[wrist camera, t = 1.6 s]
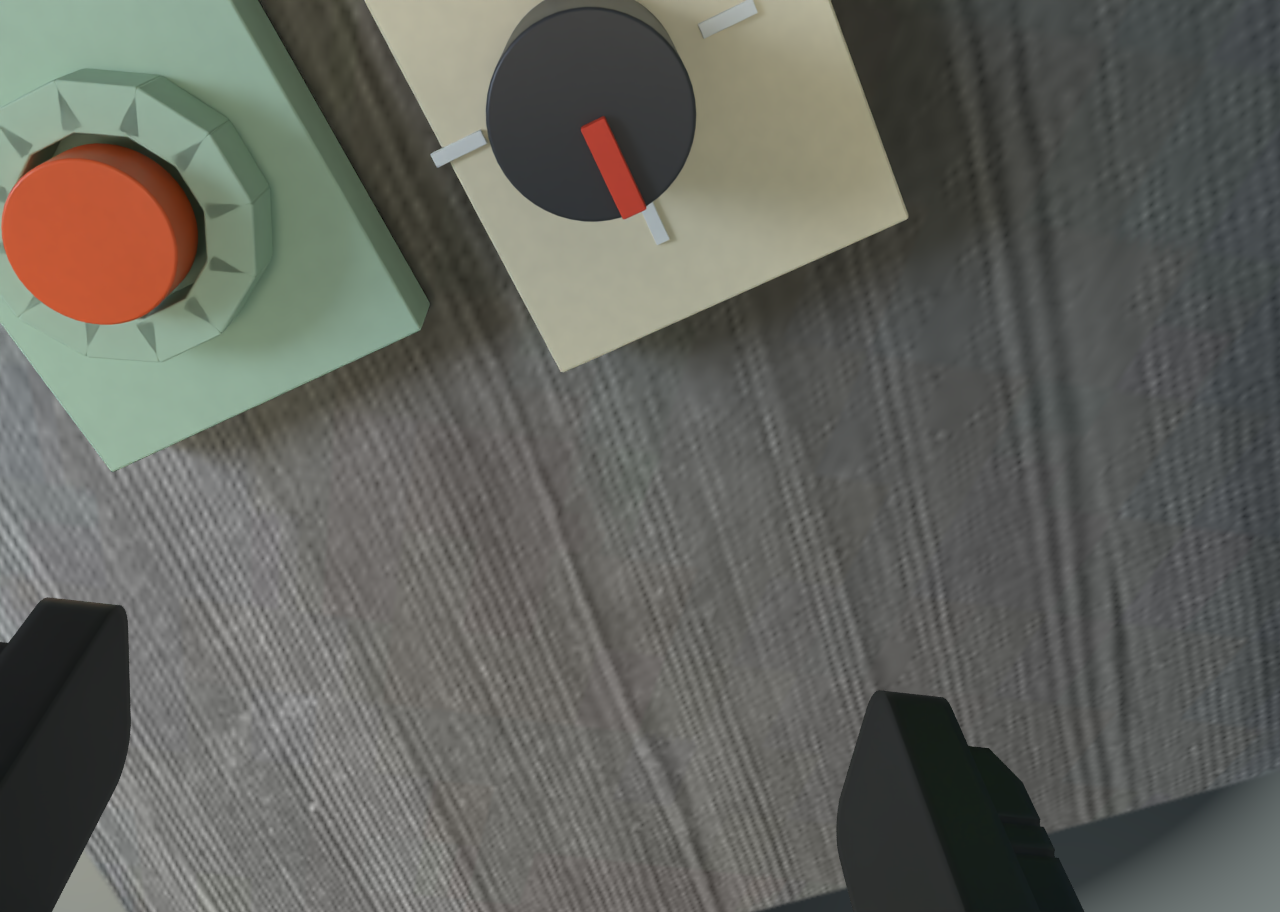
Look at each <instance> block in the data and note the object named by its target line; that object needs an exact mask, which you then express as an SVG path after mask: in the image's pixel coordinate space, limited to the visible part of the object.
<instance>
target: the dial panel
mask: <svg viewBox="0 0 1280 912" xmlns="http://www.w3.org/2000/svg"><path fill="white" fill-rule="evenodd" d="M364 1H365V3H366V5H367V7H368V9H369V10H370V12H371V14H372V16H373V18H374V20H375V22H376V24H377V26H378V27H379V29H380V31H381V33H382V35H383V37H384V39H385V41H386V43H387V44H388V46H389V48H390V50H391V52H392V54H393V56H394V58H395V60H396V61H397V63H398V65H399V67H400V69H401V71H402V73H403V75H404V77H405V78H406V80H407V82H408V84H409V86H410V88H411V90H412V92H413V94H414V95H415V97H416V99H417V101H418V103H419V105H420V107H421V109H422V111H423V112H424V114H425V116H426V118H427V120H428V122H429V124H430V126H431V128H432V129H433V131H434V133H435V135H436V137H437V139H438V141H439V143H440V145H441V146H442V148H441V149H439V150H437V151H435V152H433V153H431V157H432V159H433V161H434V163H435V165H436V166H437V168H438V167H440V166H442V165H444V164H446V163H448V162H450V163H451V165H452V167H453V169H454V171H455V173H456V175H457V177H458V179H459V181H460V182H461V184H462V186H463V188H464V190H465V192H466V194H467V196H468V198H469V199H470V201H471V203H472V205H473V207H474V209H475V211H476V213H477V215H478V216H479V218H480V220H481V222H482V224H483V226H484V228H485V230H486V232H487V233H488V235H489V237H490V239H491V241H492V243H493V245H494V247H495V249H496V250H497V252H498V254H499V256H500V258H501V260H502V262H503V264H504V266H505V267H506V269H507V271H508V273H509V275H510V277H511V279H512V281H513V283H514V284H515V286H516V288H517V290H518V292H519V294H520V296H521V298H522V300H523V301H524V303H525V305H526V307H527V309H528V311H529V313H530V315H531V317H532V318H533V320H534V322H535V324H536V326H537V328H538V330H539V332H540V334H541V335H542V337H543V339H544V341H545V343H546V345H547V347H548V349H549V351H550V352H551V354H552V356H553V358H554V360H555V362H556V364H557V366H558V368H559V369H560V371H561V372H566V371H568V370H570V369H573V368H575V367H577V366H579V365H582V364H584V363H586V362H588V361H591V360H593V359H595V358H597V357H600V356H602V355H604V354H606V353H608V352H611V351H613V350H615V349H617V348H620V347H622V346H624V345H626V344H629V343H631V342H633V341H635V340H638V339H640V338H642V337H644V336H647V335H649V334H651V333H653V332H656V331H658V330H660V329H662V328H665V327H667V326H669V325H671V324H674V323H676V322H678V321H680V320H683V319H685V318H687V317H689V316H691V315H694V314H696V313H698V312H700V311H703V310H705V309H707V308H709V307H712V306H714V305H716V304H718V303H721V302H723V301H725V300H727V299H730V298H732V297H734V296H736V295H739V294H741V293H743V292H745V291H748V290H750V289H752V288H754V287H757V286H759V285H761V284H763V283H766V282H768V281H770V280H772V279H774V278H777V277H779V276H781V275H783V274H786V273H788V272H790V271H792V270H795V269H797V268H799V267H801V266H804V265H806V264H808V263H810V262H813V261H815V260H817V259H819V258H822V257H824V256H826V255H828V254H831V253H833V252H835V251H837V250H840V249H842V248H844V247H846V246H849V245H851V244H853V243H855V242H857V241H860V240H862V239H864V238H866V237H869V236H871V235H873V234H875V233H878V232H880V231H882V230H884V229H887V228H889V227H891V226H893V225H896V224H898V223H900V222H902V221H905V220H906V219H908V213H907V210H906V207H905V204H904V202H903V199H902V196H901V193H900V191H899V188H898V185H897V182H896V179H895V177H894V174H893V171H892V168H891V166H890V163H889V160H888V157H887V155H886V152H885V149H884V146H883V144H882V141H881V138H880V135H879V133H878V130H877V127H876V124H875V121H874V119H873V116H872V113H871V110H870V108H869V105H868V102H867V99H866V97H865V94H864V91H863V88H862V86H861V83H860V80H859V77H858V75H857V72H856V69H855V66H854V63H853V61H852V58H851V55H850V52H849V50H848V47H847V44H846V41H845V39H844V36H843V33H842V30H841V28H840V25H839V22H838V19H837V17H836V14H835V11H834V8H833V5H832V3H831V0H635V1H637V2H638V3H640V4H642V5H643V6H644V7H646V8H647V9H648V10H649V11H650V12H651V13H652V14H653V15H654V16H655V17H656V18H657V19H658V20H659V21H660V22H661V24H662V25H663V27H664V28H665V29H666V31H667V32H668V34H669V36H670V38H671V40H672V42H673V44H674V46H675V48H676V50H677V52H678V54H679V56H680V58H681V60H682V62H683V64H684V66H685V68H686V70H687V72H688V75H689V77H690V80H691V83H692V86H693V91H694V96H695V102H696V129H695V135H694V140H693V144H692V147H691V150H690V153H689V156H688V158H687V160H686V162H685V165H684V167H683V168H682V170H681V172H680V173H679V175H678V176H677V178H676V179H675V181H674V182H673V183H672V184H671V185H670V187H669V188H668V189H667V190H666V191H665V192H664V193H663V194H662V195H661V196H660V197H659V198H657V199H656V200H655V201H653V202H652V203H650V204H649V205H648V206H646V210H644V211H642V212H640V213H638V214H636V215H633V216H631V217H629V218H627V219H622V217H621V218H617V219H613V220H608V221H599V222H584V221H577V220H570V219H567V218H563V217H560V216H557V215H554V214H552V213H550V212H547V211H545V210H543V209H542V208H540V207H538V206H536V205H535V204H533V203H532V202H531V201H529V200H528V199H527V198H525V197H524V196H523V195H522V194H521V193H520V192H519V191H518V190H517V189H516V188H515V187H514V186H513V185H512V184H511V182H510V181H509V180H508V179H507V177H506V176H505V175H504V173H503V171H502V170H501V168H500V166H499V165H498V163H497V160H496V158H495V156H494V153H493V151H492V148H491V145H490V141H489V138H488V132H487V126H486V101H487V93H488V89H489V85H490V81H491V78H492V75H493V73H494V70H495V67H496V65H497V63H498V61H499V59H500V57H501V55H502V53H503V50H504V48H505V46H506V44H507V42H508V40H509V38H510V36H511V34H512V32H513V31H514V29H515V28H516V26H517V25H518V24H519V22H520V21H521V19H522V18H523V17H524V16H525V15H526V14H527V13H528V12H529V11H530V10H531V9H533V8H534V7H535V6H537V5H538V4H539V3H541V2H542V1H544V0H364Z"/></svg>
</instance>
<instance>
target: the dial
mask: <svg viewBox="0 0 1280 912" xmlns="http://www.w3.org/2000/svg"><path fill="white" fill-rule="evenodd" d="M486 126H487V132H488V138H489V141H490V145H491V148H492V151H493V153H494V156H495V158H496V160H497V163H498V165H499V166H500V168H501V170H502V171H503V173H504V175H505V176H506V177H507V179H508V180H509V181H510V182H511V184H512V185H513V186H514V187H515V188H516V189H517V190H518V191H519V192H520V193H521V194H522V195H523V196H524V197H525V198H527V199H528V200H529V201H531V202H532V203H533V204H535V205H536V206H538V207H540V208H542V209H543V210H545V211H547V212H550V213H552V214H554V215H557V216H560V217H563V218H567V219H570V220H577V221H584V222H599V221H608V220H613V219H617V218H621V217H622V219H627V218H629V217H631V216H633V215H636V214H638V213H640V212H642V211H644V210H646V206H648V205H649V204H650V203H652V202H653V201H655V200H656V199H657V198H659V197H660V196H661V195H662V194H663V193H664V192H665V191H666V190H667V189H668V188H669V187H670V185H671V184H672V183H673V182H674V181H675V179H676V178H677V176H678V175H679V173H680V172H681V170H682V168H683V167H684V165H685V162H686V160H687V158H688V156H689V153H690V150H691V147H692V144H693V140H694V135H695V129H696V102H695V96H694V91H693V86H692V83H691V80H690V77H689V75H688V72H687V70H686V68H685V66H684V64H683V62H682V60H681V58H680V56H679V54H678V52H677V50H676V48H675V46H674V44H673V42H672V40H671V38H670V36H669V34H668V32H667V31H666V29H665V28H664V27H663V25H662V24H661V22H660V21H659V20H658V19H657V18H656V17H655V16H654V15H653V14H652V13H651V12H650V11H649V10H648V9H647V8H646V7H644V6H643V5H642V4H640V3H638V2H637V1H635V0H544V1H542V2H541V3H539V4H538V5H537V6H535V7H534V8H533V9H531V10H530V11H529V12H528V13H527V14H526V15H525V16H524V17H523V18H522V19H521V21H520V22H519V24H518V25H517V26H516V28H515V29H514V31H513V32H512V34H511V36H510V38H509V40H508V42H507V44H506V46H505V48H504V50H503V53H502V55H501V57H500V59H499V61H498V63H497V65H496V67H495V70H494V73H493V75H492V78H491V81H490V85H489V89H488V93H487V101H486Z"/></svg>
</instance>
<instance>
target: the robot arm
mask: <svg viewBox="0 0 1280 912" xmlns="http://www.w3.org/2000/svg"><path fill="white" fill-rule="evenodd" d="M130 728H131V715H130V680H129V645H128V620H127V615H126V612H125V609H124V608H123V607H122V606H121V605H112V604H103V603H94V602H84V601H75V600H66V599H57V598H44V599H43V600H41V601H40V602H39V603H38V604H37V606H36V607H35V608H34V610H33V611H32V612H31V614H30V615H29V616H28V618H27V619H26V620H25V622H24V623H23V624H22V626H21V627H20V628H19V630H18V631H17V632H16V634H15V635H14V636H13V638H12V639H11V640H10V642H9V643H3V642H0V912H52V910H53V908H54V907H55V904H56V903H57V901H58V899H59V897H60V895H61V893H62V891H63V889H64V887H65V885H66V883H67V881H68V879H69V877H70V875H71V873H72V872H73V869H74V868H75V866H76V864H77V862H78V860H79V858H80V856H81V854H82V852H83V850H84V848H85V846H86V844H87V842H88V840H89V838H90V837H91V835H92V833H93V831H94V829H95V827H96V825H97V823H98V821H99V819H100V817H101V815H102V813H103V811H104V809H105V807H106V805H107V803H108V802H109V800H110V798H111V796H112V794H113V792H114V790H115V788H116V786H117V784H118V781H119V779H120V776H121V773H122V770H123V767H124V764H125V760H126V756H127V751H128V745H129V739H130ZM837 847H838V853H839V858H840V862H841V866H842V870H843V874H844V878H845V882H846V885H847V889H848V893H849V897H850V901H851V905H852V909H853V912H1084V910H1083V908H1082V906H1081V904H1080V902H1079V900H1078V898H1077V896H1076V894H1075V891H1074V889H1073V887H1072V885H1071V883H1070V881H1069V879H1068V877H1067V875H1066V873H1065V870H1064V868H1063V866H1062V864H1061V862H1060V860H1059V858H1055V856H1054V851H1055V850H1054V848H1053V845H1052V843H1051V841H1050V839H1049V837H1048V835H1047V833H1046V831H1045V829H1044V827H1040V818H1039V816H1038V814H1037V812H1036V810H1035V808H1034V806H1033V804H1032V801H1031V799H1030V797H1029V795H1028V793H1027V791H1026V789H1025V787H1024V785H1023V783H1022V782H1021V781H1020V780H1019V778H1018V777H1017V776H1016V775H1015V774H1014V773H1013V772H1012V771H1011V770H1010V769H1009V768H1008V767H1007V766H1006V765H1005V764H1004V763H1003V762H1002V761H1001V760H1000V759H999V758H998V757H997V756H996V755H995V754H994V753H993V752H992V751H991V750H990V749H989V748H981V747H972V746H968V745H967V742H966V740H965V738H964V735H963V733H962V731H961V728H960V726H959V724H958V722H957V719H956V717H955V715H954V712H953V710H952V708H951V706H950V704H949V702H948V701H947V700H946V699H945V698H943V697H935V696H926V695H916V694H907V693H898V692H889V691H880V690H879V691H876V692H875V693H874V694H873V696H872V697H871V699H870V701H869V703H868V706H867V709H866V713H865V716H864V719H863V723H862V726H861V729H860V733H859V736H858V739H857V743H856V746H855V749H854V752H853V756H852V759H851V762H850V766H849V769H848V772H847V776H846V779H845V782H844V786H843V789H842V792H841V796H840V800H839V805H838V813H837Z"/></svg>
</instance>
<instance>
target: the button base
mask: <svg viewBox="0 0 1280 912" xmlns="http://www.w3.org/2000/svg"><path fill="white" fill-rule="evenodd" d="M94 143H100V144H112V145H119V146H122V147H126V148H129V149H132V150H134V151H137V152H139V153H141V154H143V155H145V156H147V157H149V158H150V159H152V160H153V161H155V162H156V163H158V164H159V165H160V166H162V167H163V168H164V169H165V170H166V171H167V172H168V173H169V174H170V175H171V176H172V177H173V178H174V179H175V180H176V181H177V182H178V184H179V185H180V187H181V188H182V189H183V191H184V192H185V194H186V196H187V198H188V199H189V201H190V204H191V206H192V209H193V211H194V214H195V218H196V222H197V229H198V246H197V253H196V256H195V260H194V263H193V265H192V267H191V269H190V271H189V272H188V274H187V275H186V277H185V278H184V280H183V281H182V282H181V283H180V284H179V285H178V286H177V287H176V288H175V289H174V290H173V291H172V292H171V293H170V294H169V295H168V296H167V297H166V298H165V299H164V300H163V301H162V302H161V303H160V304H159V305H158V306H157V307H156V308H155V309H153V310H152V311H151V312H149V313H148V314H146V315H144V316H142V317H140V318H138V319H135V320H133V321H130V322H126V323H121V324H113V325H99V324H91V323H85V322H81V321H77V320H74V319H72V318H69V317H66V316H64V315H62V314H60V313H58V312H56V311H54V310H53V309H51V308H49V307H48V306H46V305H45V304H43V303H42V302H41V301H40V300H38V299H37V298H36V297H35V296H34V295H33V294H32V293H31V292H30V291H29V290H28V289H27V288H26V287H25V286H24V284H23V283H22V282H21V281H20V280H19V278H18V276H17V275H16V273H15V272H14V270H13V268H12V266H11V264H10V262H9V260H8V258H7V255H6V252H5V249H4V245H3V240H2V230H1V222H2V213H3V209H4V204H5V202H6V199H7V197H8V195H9V193H10V191H11V190H12V188H13V186H14V185H15V184H16V183H17V181H18V180H19V179H20V178H21V177H22V176H23V175H25V174H26V173H27V172H28V171H30V170H31V169H33V168H35V167H36V166H38V165H40V164H42V163H44V162H45V161H47V160H49V159H51V158H53V157H55V156H57V155H59V154H60V153H62V152H64V151H66V150H69V149H71V148H74V147H77V146H81V145H86V144H94ZM429 306H430V303H429V301H428V299H427V297H426V296H425V294H424V292H423V290H422V288H421V287H420V285H419V283H418V281H417V280H416V278H415V276H414V274H413V273H412V271H411V269H410V267H409V266H408V264H407V262H406V260H405V259H404V257H403V255H402V253H401V251H400V250H399V248H398V246H397V244H396V243H395V241H394V239H393V237H392V236H391V234H390V232H389V230H388V229H387V227H386V225H385V223H384V221H383V220H382V218H381V216H380V214H379V213H378V211H377V209H376V207H375V206H374V204H373V202H372V200H371V199H370V197H369V195H368V193H367V191H366V190H365V188H364V186H363V184H362V183H361V181H360V179H359V177H358V176H357V174H356V172H355V170H354V169H353V167H352V165H351V163H350V162H349V160H348V158H347V156H346V154H345V153H344V151H343V149H342V147H341V146H340V144H339V142H338V140H337V139H336V137H335V135H334V133H333V132H332V130H331V128H330V126H329V124H328V123H327V121H326V119H325V117H324V116H323V114H322V112H321V110H320V109H319V107H318V105H317V103H316V102H315V100H314V98H313V96H312V95H311V93H310V91H309V89H308V87H307V86H306V84H305V82H304V80H303V79H302V77H301V75H300V73H299V72H298V70H297V68H296V66H295V65H294V63H293V61H292V59H291V57H290V56H289V54H288V52H287V50H286V49H285V47H284V45H283V43H282V42H281V40H280V38H279V36H278V35H277V33H276V31H275V29H274V28H273V26H272V24H271V22H270V20H269V19H268V17H267V15H266V13H265V12H264V10H263V8H262V6H261V5H260V3H259V1H258V0H0V323H1V324H2V326H3V327H4V328H5V330H6V331H7V332H8V334H9V335H10V336H11V338H12V339H13V340H14V342H15V343H16V344H17V346H18V347H19V348H20V350H21V351H22V352H23V354H24V355H25V356H26V358H27V359H28V361H29V362H30V363H31V365H32V366H33V367H34V369H35V370H36V371H37V373H38V374H39V375H40V377H41V378H42V379H43V381H44V382H45V383H46V385H47V386H48V387H49V389H50V390H51V391H52V393H53V394H54V395H55V397H56V398H57V399H58V401H59V402H60V403H61V405H62V406H63V407H64V409H65V410H66V411H67V413H68V414H69V416H70V417H71V418H72V420H73V421H74V422H75V424H76V425H77V426H78V428H79V429H80V430H81V432H82V433H83V434H84V436H85V437H86V438H87V440H88V441H89V442H90V444H91V445H92V446H93V448H94V449H95V450H96V452H97V453H98V454H99V456H100V457H101V458H102V460H103V461H104V462H105V464H106V465H107V466H108V468H109V469H110V471H112V472H114V471H117V470H119V469H121V468H123V467H125V466H128V465H130V464H132V463H134V462H136V461H138V460H141V459H143V458H145V457H147V456H149V455H151V454H154V453H156V452H158V451H160V450H162V449H164V448H167V447H169V446H171V445H173V444H175V443H177V442H180V441H182V440H184V439H186V438H188V437H190V436H193V435H195V434H197V433H199V432H201V431H203V430H206V429H208V428H210V427H212V426H214V425H216V424H219V423H221V422H223V421H225V420H227V419H229V418H232V417H234V416H236V415H238V414H240V413H243V412H245V411H247V410H249V409H251V408H253V407H256V406H258V405H260V404H262V403H264V402H266V401H269V400H271V399H273V398H275V397H277V396H279V395H282V394H284V393H286V392H288V391H290V390H292V389H295V388H297V387H299V386H301V385H303V384H305V383H308V382H310V381H312V380H314V379H316V378H318V377H321V376H323V375H325V374H327V373H329V372H331V371H334V370H336V369H338V368H340V367H342V366H344V365H347V364H349V363H351V362H353V361H355V360H357V359H360V358H362V357H364V356H366V355H368V354H371V353H373V352H375V351H377V350H379V349H381V348H384V347H386V346H388V345H390V344H392V343H394V342H397V341H399V340H401V339H403V338H405V337H407V336H410V335H412V334H414V333H416V332H418V331H420V330H421V328H422V325H423V322H424V320H425V317H426V314H427V311H428V309H429Z"/></svg>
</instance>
